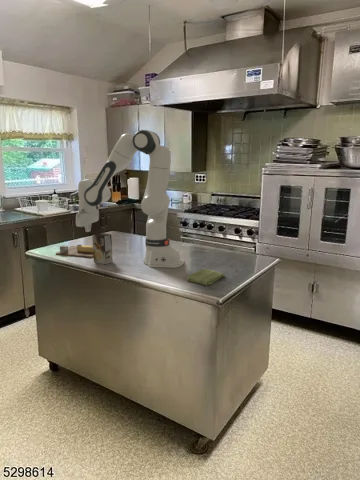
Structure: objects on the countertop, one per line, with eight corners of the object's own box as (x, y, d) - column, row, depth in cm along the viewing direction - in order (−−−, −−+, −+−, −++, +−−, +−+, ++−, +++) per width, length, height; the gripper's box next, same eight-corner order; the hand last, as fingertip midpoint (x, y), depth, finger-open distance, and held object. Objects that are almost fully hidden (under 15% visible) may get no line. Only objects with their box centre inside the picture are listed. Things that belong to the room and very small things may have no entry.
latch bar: (76, 252, 217) (76, 245, 216) (79, 250, 220) (78, 244, 219) (98, 253, 213) (97, 247, 212) (100, 252, 216) (100, 246, 215)
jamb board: (105, 250, 226) (105, 242, 224) (91, 258, 209) (91, 249, 208) (72, 247, 232) (71, 239, 231) (55, 254, 215) (55, 246, 214)
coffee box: (113, 261, 202) (112, 234, 198) (106, 264, 197) (104, 236, 193) (100, 259, 206) (99, 232, 202) (93, 262, 201) (91, 234, 197)
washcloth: (225, 277, 180) (226, 271, 179) (208, 287, 166) (208, 281, 165) (203, 272, 187) (203, 266, 186) (184, 281, 173) (184, 275, 172)
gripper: (82, 211, 192) (83, 236, 195) (100, 205, 211) (101, 228, 214) (72, 210, 194) (73, 235, 197) (90, 205, 213) (91, 227, 216)
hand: (88, 231), depth 206 cm, fingers closed
